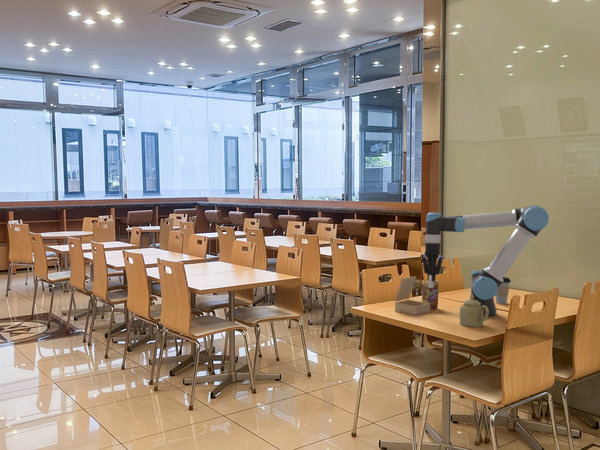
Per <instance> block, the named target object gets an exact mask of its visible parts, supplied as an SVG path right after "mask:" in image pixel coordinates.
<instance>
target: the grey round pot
mask: <svg viewBox="0 0 600 450" xmlns="http://www.w3.org/2000/svg"><path fill="white" fill-rule="evenodd" d="M469 298H470V299H466V300H465V301H463V302H462V303H463V304H462V305H461V306H460V307H459V324H460V325H461V326H463V327H469V328H480V327H483V325H484V322H485V321H487V319H488V317H489V316H488V315H489V309H488V307H487V306H485V305H483V306H480V304H481V303H479V302H478V301H476V300H474V295H473V294H472V295H471V294H470V296H469ZM483 308H485V316H483Z"/></svg>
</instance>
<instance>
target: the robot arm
mask: <svg viewBox="0 0 600 450" xmlns="http://www.w3.org/2000/svg"><path fill="white" fill-rule="evenodd" d="M549 222H550V217H549V214H548V212H547V211H546V209H545V208H543V207H541V206H540V205H539V206H538V205H530V206H525V207H524V206H523V207H521V208H514V209H512V210H509V211H500V212H499V211H498V212H488V213H486V212H485V213H476V214H462V215H450V216H443V215H442V213H441V212H428V213H427V214H426V220H425V244H424V245H425V246H424V247H425V248H424V249H425V250H424V252H423V254H421V255H420V258H421V259H422V267H423V272H424V274H426V275H427V280H426V281H429V286H428V287H429V288H433V287H434V281H436V276H437V275H439V274H440V271H441V267H442V263H443V261H444V259H445V257H444V256H442V254H441V252H440V250H441V243H440V242H441V233H442V232H449V233H464V232H465V231H466V230H472V229H486V228H487V229H488V228H498V227H500V228H501V227H510V226H513V227H514V228H515V230H513V232H512V233H511V235H509V236H510V237H508V238H507V240H506V242H505V243H504V244H503V246H502V247H501V248H500V249H499V252H498V253H497V254H496V255H495V257H494V258H493V260H492V261H491V262H490V264H489V265H488V267H484V268H482V269H481V270H476V269H474V270H472V271H471V275H470V276H471V282H470V283H471V284H470V285H471V288H470V296H471V295H472V294H473V295H474V300H476V301H478V302H479V303H481V304H480V306H483V305H485V306H487V307H488V309H489V315H488V317H493V316H496V315H497V308H496V302H495V301H494V299H495V298H494V297H495V295H496V294H497V291H498V288H499V287H500V286H501V284H502V283H503V277H505V275H506V274H507V272H508V270H510V268H511V267H512V265H513V264H514V263H515V261H516V260H517V258H518V257H519V256H520V254H522V252H523V250H524V249H525V247H526V246H527V245H528V243H530V241H531V239H534V238H537V236H538V235H539V234H540V232H542V230H543V229H544V228H546V227H547V226H548V224H549ZM483 317H485V308H483Z"/></svg>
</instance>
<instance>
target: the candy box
mask: <svg viewBox="0 0 600 450" xmlns="http://www.w3.org/2000/svg"><path fill="white" fill-rule="evenodd" d="M428 286H429V281H428V280H423V281H422V290H421V291H422V293H421V295H422V296H421V302H425V303H430V310H434V309H438V308H439V307H438V306H439V291H440V289H439V288H440V281H438V280H435V281H434V287H433V288H429V287H428Z"/></svg>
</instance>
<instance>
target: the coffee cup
mask: <svg viewBox="0 0 600 450" xmlns="http://www.w3.org/2000/svg"><path fill="white" fill-rule="evenodd" d="M510 284H511V279H510V277H506V276H503V283H502V284H501V286H500V287H499V288H498V291H497V294H496V295H495V296H494V297H495V304H498V303H500V304H499V305H506V304H507V301H508V296H509V291H510Z"/></svg>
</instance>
